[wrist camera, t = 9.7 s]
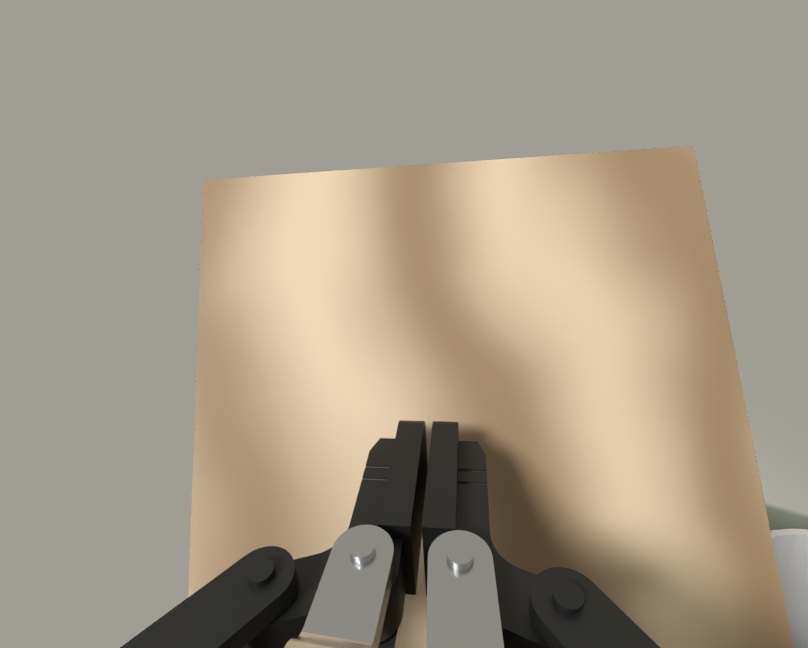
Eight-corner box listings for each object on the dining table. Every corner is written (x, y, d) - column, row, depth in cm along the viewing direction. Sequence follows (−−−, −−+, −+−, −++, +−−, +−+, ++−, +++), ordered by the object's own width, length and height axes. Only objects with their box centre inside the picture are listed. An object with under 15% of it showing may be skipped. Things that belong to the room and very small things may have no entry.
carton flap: (804, 700, 12) (786, 686, 12) (693, 146, 15) (683, 155, 16) (183, 722, 12) (194, 709, 13) (203, 180, 15) (211, 188, 16)
